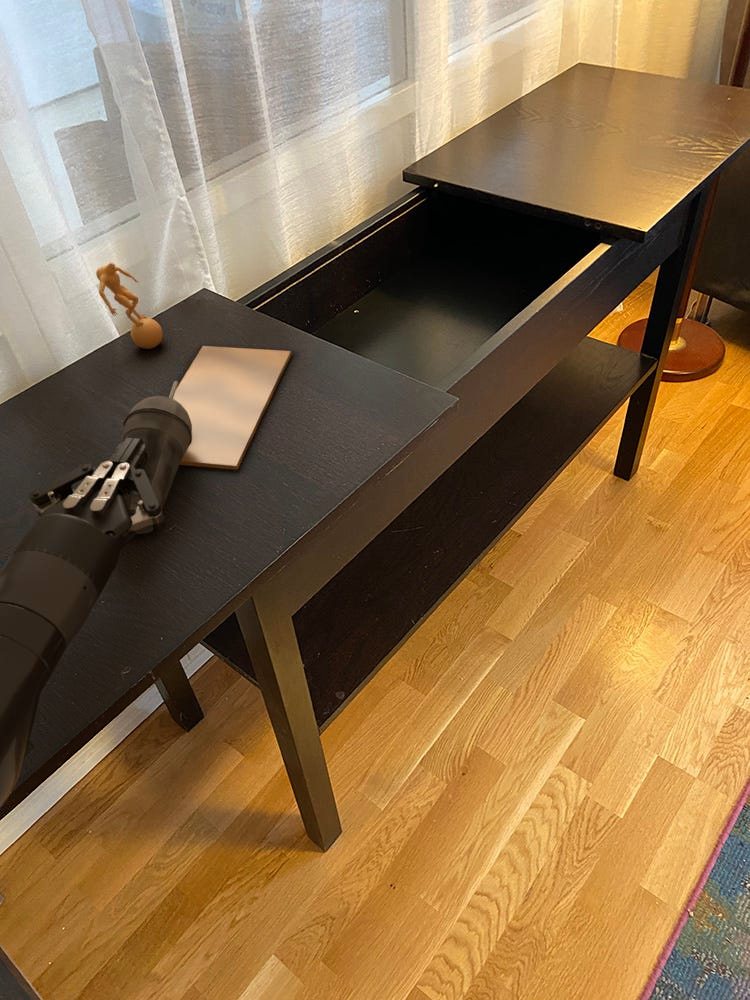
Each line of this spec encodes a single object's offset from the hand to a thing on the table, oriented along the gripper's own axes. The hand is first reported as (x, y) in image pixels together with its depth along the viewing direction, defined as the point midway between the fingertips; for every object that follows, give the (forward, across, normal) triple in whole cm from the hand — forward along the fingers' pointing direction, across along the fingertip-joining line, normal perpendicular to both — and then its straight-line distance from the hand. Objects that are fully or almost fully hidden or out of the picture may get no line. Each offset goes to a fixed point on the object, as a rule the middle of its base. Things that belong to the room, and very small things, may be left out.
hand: (137, 445), depth 75 cm
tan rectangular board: (+18, 0, +9) cm, 20 cm away
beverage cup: (-4, +1, +7) cm, 8 cm away
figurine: (+29, +14, +9) cm, 34 cm away
